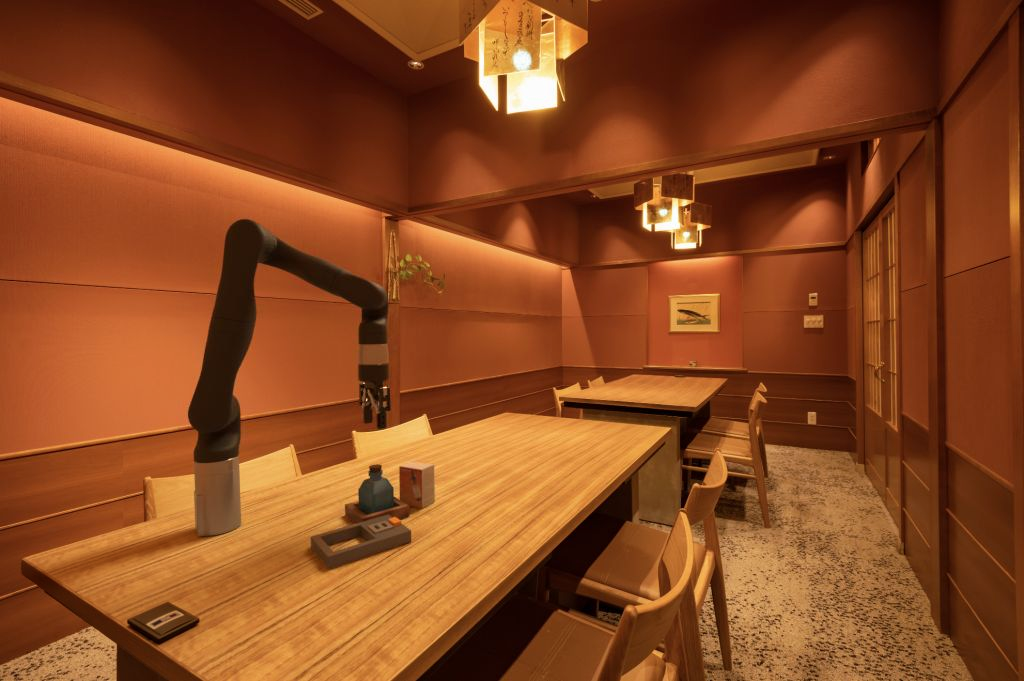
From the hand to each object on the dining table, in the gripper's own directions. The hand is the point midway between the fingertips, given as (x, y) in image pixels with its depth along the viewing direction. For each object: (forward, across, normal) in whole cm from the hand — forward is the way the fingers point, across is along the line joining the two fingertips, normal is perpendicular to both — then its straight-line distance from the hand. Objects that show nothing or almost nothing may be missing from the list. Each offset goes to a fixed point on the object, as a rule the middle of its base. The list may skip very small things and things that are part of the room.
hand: (374, 425), depth 117 cm
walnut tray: (+23, 0, 0) cm, 23 cm away
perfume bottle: (+23, 0, 0) cm, 23 cm away
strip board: (+23, +13, -9) cm, 28 cm away
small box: (+23, -1, +12) cm, 26 cm away
